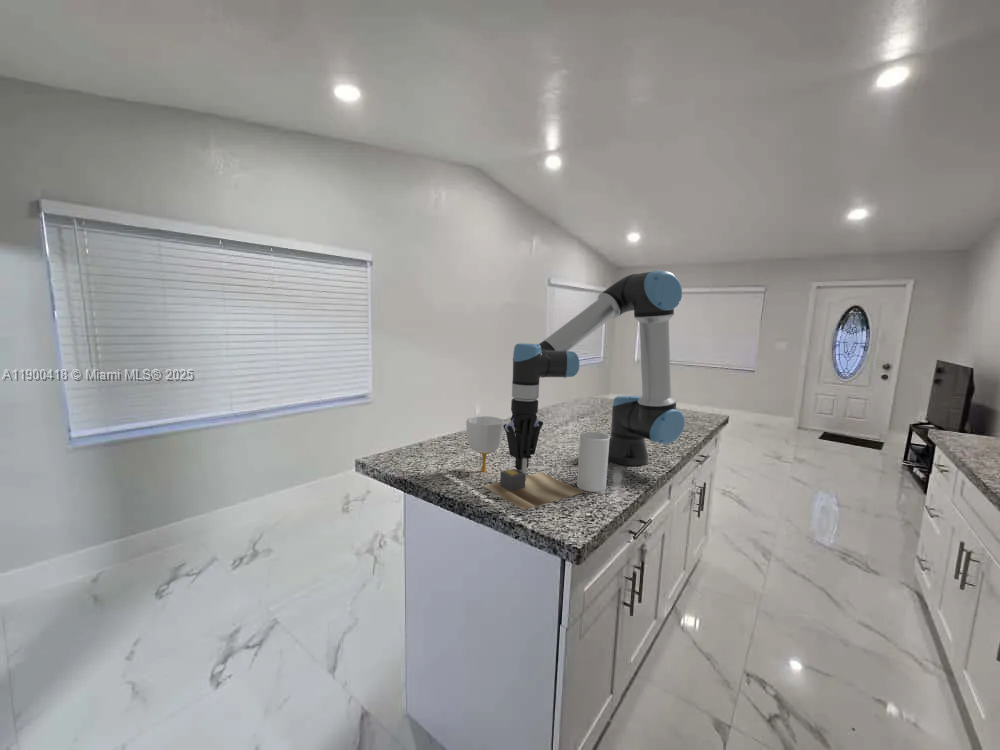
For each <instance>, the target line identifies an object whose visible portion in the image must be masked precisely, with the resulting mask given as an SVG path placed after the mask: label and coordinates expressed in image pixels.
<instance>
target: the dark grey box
mask: <svg viewBox="0 0 1000 750" xmlns="http://www.w3.org/2000/svg"><path fill="white" fill-rule="evenodd" d="M525 476H527V474H524V473H522V472H520V471H518V470H517V469H516V468H512V469H506V470H502V471H500V481H499V482H500V485H501V486H502V487H504V488H506V489H508V490H509V491H514V490H518V489H522V488H525Z"/></svg>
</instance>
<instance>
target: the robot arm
mask: <svg viewBox="0 0 1000 750" xmlns="http://www.w3.org/2000/svg"><path fill="white" fill-rule="evenodd" d="M682 297H683V288H682V284H681V282H680V280H679V278H678V277H677V276H675V274H674V273H672V272H670V271H668V270H654V271H653V270H652V271H649V272H647V271H646V272H641V273H633V274H629V275H627V276H625V277H622V278H620V279H619V280H617V281H616V282H615V283H613V284H612V285H610V286H609V287H607V288H606V289H605V290H603V292H601V293H600V294H599V295H598V297H597V299H596V300H595V301H594V302H593V303H592V304H590V305H589V306H587V307H586V308H585V309H584V310H582V311H580V312H579V314H577V315H575V316H574V317H573V318H572V319H570V320H569V321H567V323H565V324H564V325H562V326H561V327H559V329H557V330H556V331H554V332H553V333H552V334H551V335H549V336H548V337H546V339H545V338H544V340H543V341H541V342H539V343H523V342H522V343H516V344H515V345H514V348H513V354H512V355H513V356H512V357H513V358H512V380H511V381H512V383H511V384H512V385H511V397H512V399H511V403H510V404H511V406H510V408H511V409H510V411H511V413H512V414H511V415H512V416H511V417H510V421H509V422H508V423H507V424H506V423H504V426H503V427H504V431H505V433H506V440H507V445H508V451H509V453H508V454H509V455H510V457H513V458H514V459H515V464H514V465H515V466H514V467H515V468H514V469H516V470H518V471H520V472H522V473H524V474H526V476H527V475H528V474H527V471H528V469H529V462H530V461H529V460H530V459H532V457H533V455H535V454H536V450H537V446H538V441H539V437H540V432H541V429H542V427H543V425H544V422H543V421H542V420H540V419H538V415H537V414H538V412H539V401H538V398H539V394H540V393H539V392H540V378H564V379H566V378H573V377H575V376H576V375H577V374H578V373H579V370H580V359H579V356H578V354H577V353H576V352H574V351H571V349H573V348H574V347H575V346H577V345H578V344H579V343H581V342H582V341H583V340H585V339H586V338H587V337H589V336H590V335H591V334H593V332H595V331H596V330H598V329H599V328H600V327H602V326H603V325H605V324H606V323H607V322H608V321H610V320H611V319H617V318H618V317H619V316H621V315H623V314H624V313H627V312H632V311H633V316H634V317H633V318H635V320H636V321H637V322H638V323H639V337H640V338H639V339H640V340H639V341H640V344H639V345H640V362H641V363H640V364H641V365H640V367H641V368H640V369H641V370H640V371H641V393H642V395H617V396H615V397H614V399H613V403H612V407H611V408H612V411H611V412H612V413H611V427H610V429H611V430H610V431H611V432H610V436H609V438H610V439H609V453H608V462H612V463H614V464H617V465H623V466H644V465H647V464H648V463H649V453H648V449H647V445H646V439H647V440H650V441H651V442H654V443H658V444H661V445H669V444H672V443H674V442H675V441H677V439H678V438H679V437H680V436H681V435H682V433H683V431H684V429H685V425H686V422H685V421H686V419H685V416H684V414H683V413H682V412H681V410H678V409H677V399H676V398H674V397H673V396H672V394H671V393H672V390H671V386H672V385H671V356H670V355H671V354H670V353H671V351H670V319H671V318H673V316H674V315H675V310H674V309H675V308H677V307H678V305H679V304H680V302H681V301H682ZM526 476H525V481H526Z"/></svg>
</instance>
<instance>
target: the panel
mask: <svg viewBox="0 0 1000 750" xmlns="http://www.w3.org/2000/svg"><path fill="white" fill-rule="evenodd" d="M483 487H484V488H486V489H488V490H489V491H490V492H492V493H493V494H495V495H498V496H499V497H501V499H504V500H506V501H508V502H509V503H511V504H512V505H514V506H515V507H518V508H519V509H520V510H523V511H526V510H529V509H531V508H532V509H533V508H535V507H539V506H543V505H545V504H546V505H547V504H549V503H553V502H556V501H560V500H563V499H566V498H570V497H573V496H577V495H580V494H584V493H585V491H584V490H582V489H580V488H577V487H574V486H572V485H571V484H569V483H566V482H564V481H561V480H559V479H558V478H556V477H553V476H550V475H548V474H546V473H544V472H542V471H541V472H537V473H533V474H529V475H528V474H527V475H526V481H525V488H522V489H518V490H514V491H509V490H508V489H506V488H504V487H502V486H501V485H500V481H499V482H494V483H490V484H486V485H483Z"/></svg>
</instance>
